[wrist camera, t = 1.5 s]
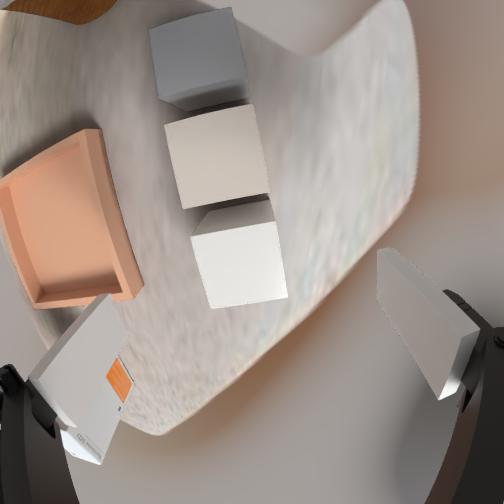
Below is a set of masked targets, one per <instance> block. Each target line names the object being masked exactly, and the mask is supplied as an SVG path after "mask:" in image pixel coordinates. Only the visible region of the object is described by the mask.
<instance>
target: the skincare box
mask: <svg viewBox="0 0 504 504" xmlns="http://www.w3.org/2000/svg"><path fill="white" fill-rule="evenodd" d="M133 387H134V382H133V381H132V379H131V377H130V376H129V374H128V372H127V370H126V369H125V367H124V365H123V363H122V361H121V359H120V357H119V355H118V356H117V358H116V359H115V361H114V363H113V365H112V366H111V368H110V370H109V371H108V373H107V375H106V377H105V378H104V380H103V382H102V384H101V386H100V387H99V389H98V391H97V393H96V395H95V396H94V398H93V400H92V402H91V404H90V406H89V407H88V409H87V411H86V413H85V415H84V417H83V419H82V421H81V423H80V425H79V427H78V428H76V427H72V426H69V425H66V424H65V423H64V422H63V421H62V420H61V419H60V418H59V416H57V417H56V419H55V420H56V421H57V423H58V424H59V426H60V431H61V437H62V442H63V447H64V448H65V449H66V450H67V451H68V452H69V453H70V454H71V455H73V456H75V457H78V458H81V459H83V460H87V461H90V462H92V463H96V464H99V465H101V464H102V462H103V459H104V457H105V454H106V451H107V449H108V446H109V444H110V441H111V439H112V436H113V434H114V431H115V429H116V426H117V424H118V421H119V419H120V417H121V414H122V412H123V410H124V407H125V405H126V403H127V400H128V398H129V396H130V394H131V391H132V389H133Z"/></svg>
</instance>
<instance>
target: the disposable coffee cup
mask: <svg viewBox="0 0 504 504" xmlns="http://www.w3.org/2000/svg"><path fill="white" fill-rule="evenodd" d="M116 1H117V0H0V10H9V11H18V12H23V13H29V14H34V15H39V16H44V17H49V18H53V19H58V20H61V21H65V22H69V23H72V24H75V25H81V24H85V23H88V22H91V21H92V20H94V19H96V18H98V17H99V16H101V15H102V14H103V13H105V12H106V11H107V10H108V9H109V8H111V7H112V6H113V4H114V3H115V2H116Z"/></svg>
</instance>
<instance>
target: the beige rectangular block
mask: <svg viewBox="0 0 504 504" xmlns="http://www.w3.org/2000/svg"><path fill="white" fill-rule="evenodd" d="M164 128H165V133H166V138H167V142H168V147H169V152H170V156H171V161H172V165H173V170H174V174H175V179H176V183H177V187H178V191H179V195H180V200H181V204H182V208H183V209H187V208H192V207H196V206H201V205H206V204H211V203H216V202H221V201H226V200H231V199H236V198H241V197H246V196H252V195H257V194H263V193H269V192H270V188H269V182H268V177H267V171H266V166H265V161H264V155H263V150H262V145H261V140H260V135H259V130H258V125H257V120H256V115H255V110H254V105H253V104H248V105H243V106H238V107H233V108H228V109H223V110H219V111H214V112H210V113H206V114H202V115H198V116H194V117H190V118H187V119H183V120H179V121H176V122H172V123H169V124H166V125H164Z"/></svg>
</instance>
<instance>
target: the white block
mask: <svg viewBox="0 0 504 504" xmlns="http://www.w3.org/2000/svg"><path fill="white" fill-rule="evenodd" d="M190 238H191V242H192V245H193V249H194V253H195V256H196V260H197V263H198V267H199V270H200V274H201V277H202V281H203V284H204V287H205V291H206V294H207V297H208V301H209V304H210V307H211V309H214V308H222V307H229V306H236V305H243V304H250V303H256V302H263V301H269V300H275V299H281V298H287V297H288V295H287V289H286V282H285V276H284V269H283V263H282V257H281V251H280V245H279V239H278V233H277V227H276V221H275V217H274V213H273V209H272V205H271V201H270V200H265V201H259V202H254V203H248V204H243V205H237V206H232V207H227V208H222V209H217V210H212V211H209V212H208V213H207V214H206V216H205V217H204V218H203V220H202V221H201V222H200V224H199V225H198V227H197V228H196V229H195V231H194V232H193V234H192V235H191V236H190Z"/></svg>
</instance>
